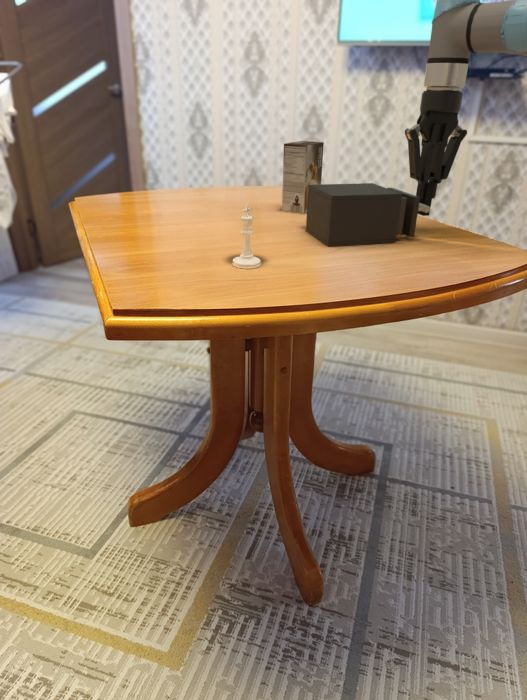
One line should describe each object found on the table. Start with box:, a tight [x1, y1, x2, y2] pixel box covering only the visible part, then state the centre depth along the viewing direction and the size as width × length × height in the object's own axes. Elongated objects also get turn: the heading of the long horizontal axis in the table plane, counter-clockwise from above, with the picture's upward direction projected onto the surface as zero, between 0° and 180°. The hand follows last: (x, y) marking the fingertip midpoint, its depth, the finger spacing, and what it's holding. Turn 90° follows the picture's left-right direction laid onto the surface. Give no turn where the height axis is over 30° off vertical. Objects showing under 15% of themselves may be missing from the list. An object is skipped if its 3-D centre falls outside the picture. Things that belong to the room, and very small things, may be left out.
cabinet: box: [305, 182, 402, 248], centre depth 103 cm, size 15×13×10 cm
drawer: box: [386, 187, 431, 238], centre depth 105 cm, size 18×11×8 cm, turn 106°
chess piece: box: [231, 204, 262, 270], centre depth 85 cm, size 5×5×10 cm
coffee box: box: [281, 140, 325, 214], centre depth 123 cm, size 9×6×16 cm
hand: (422, 214), depth 108 cm, fingers closed
